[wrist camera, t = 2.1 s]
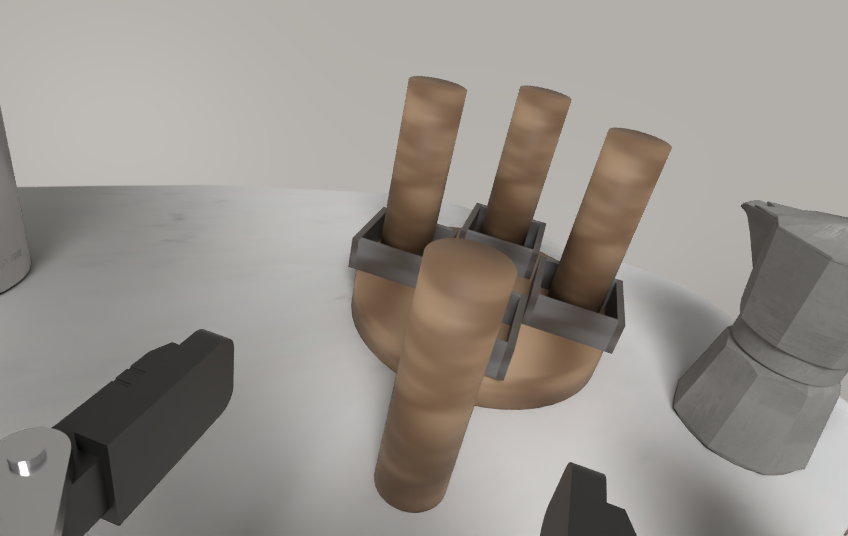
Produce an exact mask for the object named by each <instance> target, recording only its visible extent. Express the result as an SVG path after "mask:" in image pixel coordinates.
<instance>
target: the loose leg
mask: <svg viewBox="0 0 848 536" xmlns="http://www.w3.org/2000/svg"><path fill="white" fill-rule="evenodd" d="M516 277H517V269H516V266H515V264H514V263H513V262H512V260H511V259H510V258H509V257H507V256H506V255H505V254H503V253H502V252H500V251H499V250H497V249H495V248H493V247H491V246H489V245H486V244H483V243H481V242H477V241H473V240H469V239H462V238H444V239H439V240H435V241H433V242H431V243H429V244H428V245H427V246H426V247H425V249H424V253H423V257H422V262H421V266H420V271H419V275H418V280H417V284H416V289H415V293H414V298H413V302H412V307H411V311H410V316H409V320H408V325H407V329H406V334H405V338H404V343H403V347H402V352H401V356H400V361H399V365H398V370H397V374H396V379H395V383H394V388H393V392H392V397H391V401H390V406H389V411H388V415H387V420H386V424H385V429H384V433H383V438H382V442H381V447H380V451H379V456H378V460H377V465H376V469H375V474H374V480H375V485H376V488H377V491H378V492H379V494H380V495H381V497H382V498H383V499H384V500H385V501H386V502H387V503H388V504H390V505H391V506H393V507H394V508H397V509H399V510H402V511H405V512H412V513H419V512H424V511H428V510H430V509H432V508H434V507H435V506H437V505H438V504H439V503H440V502H441V500H442V499H443V497H444V495H445V492H446V489H447V486H448V483H449V480H450V477H451V474H452V471H453V468H454V465H455V462H456V459H457V456H458V453H459V450H460V447H461V444H462V441H463V438H464V435H465V432H466V429H467V426H468V423H469V420H470V417H471V414H472V411H473V408H474V405H475V402H476V399H477V395H478V392H479V389H480V386H481V383H482V380H483V377H484V374H485V371H486V368H487V365H488V362H489V359H490V356H491V353H492V350H493V347H494V344H495V341H496V338H497V335H498V332H499V329H500V326H501V323H502V320H503V317H504V314H505V311H506V308H507V305H508V302H509V299H510V296H511V293H512V290H513V286H514V283H515V280H516Z"/></svg>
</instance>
